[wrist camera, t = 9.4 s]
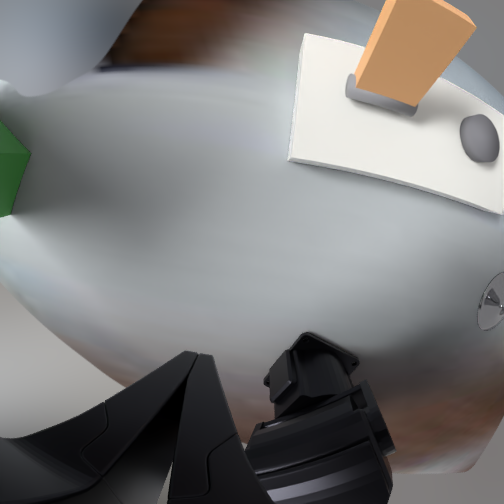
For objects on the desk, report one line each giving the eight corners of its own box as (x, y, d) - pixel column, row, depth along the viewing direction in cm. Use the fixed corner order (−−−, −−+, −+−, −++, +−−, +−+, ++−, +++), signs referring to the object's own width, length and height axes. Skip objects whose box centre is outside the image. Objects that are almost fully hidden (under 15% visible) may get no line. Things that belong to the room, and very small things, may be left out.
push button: (487, 168, 14) (499, 168, 13) (458, 154, 14) (470, 153, 13) (488, 126, 13) (499, 124, 12) (459, 109, 13) (470, 106, 12)
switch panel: (482, 210, 18) (502, 215, 15) (287, 161, 18) (291, 157, 15) (487, 120, 16) (506, 117, 13) (299, 51, 16) (304, 33, 13)
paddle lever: (408, 121, 14) (481, 32, 5) (345, 102, 14) (399, -14, 5) (405, 103, 14) (468, 15, 5) (344, 85, 14) (389, -26, 5)
